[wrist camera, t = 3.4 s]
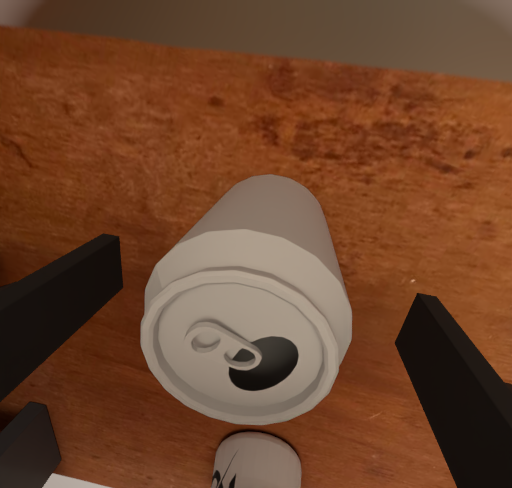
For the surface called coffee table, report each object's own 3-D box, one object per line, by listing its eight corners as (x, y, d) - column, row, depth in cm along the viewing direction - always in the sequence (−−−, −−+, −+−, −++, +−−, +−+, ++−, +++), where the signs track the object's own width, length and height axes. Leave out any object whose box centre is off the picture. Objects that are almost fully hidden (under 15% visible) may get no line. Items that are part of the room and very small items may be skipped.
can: (277, 291, 21) (256, 469, 10) (197, 232, 20) (80, 362, 9) (349, 220, 18) (425, 368, 7) (260, 146, 17) (196, 191, 6)
